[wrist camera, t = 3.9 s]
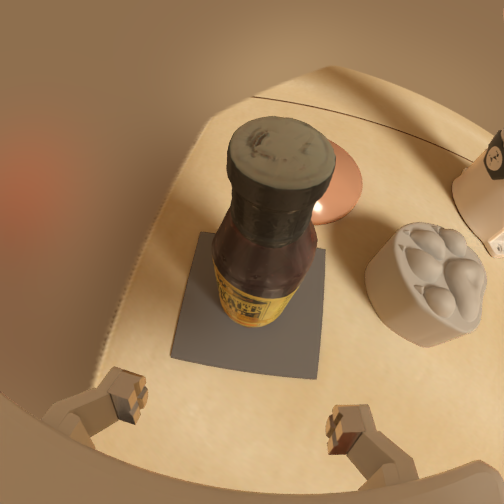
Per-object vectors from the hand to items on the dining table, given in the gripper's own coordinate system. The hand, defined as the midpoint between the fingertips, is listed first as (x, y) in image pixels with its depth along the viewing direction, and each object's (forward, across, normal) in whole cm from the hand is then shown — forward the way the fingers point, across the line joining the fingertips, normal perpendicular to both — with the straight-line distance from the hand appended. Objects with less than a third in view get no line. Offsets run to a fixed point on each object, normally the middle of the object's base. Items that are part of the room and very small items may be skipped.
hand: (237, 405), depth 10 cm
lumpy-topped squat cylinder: (+19, -18, +2) cm, 26 cm away
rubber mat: (+17, 0, +4) cm, 17 cm away
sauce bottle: (+17, 0, +4) cm, 17 cm away
